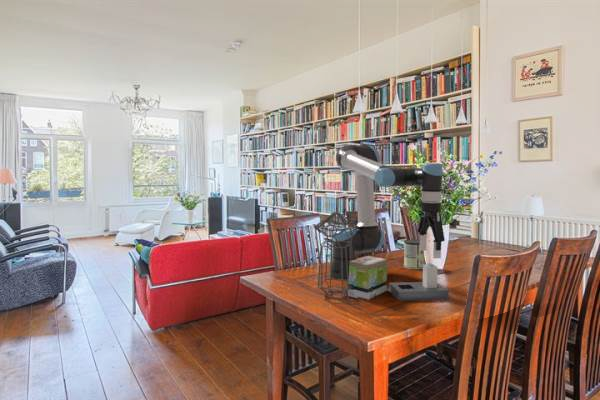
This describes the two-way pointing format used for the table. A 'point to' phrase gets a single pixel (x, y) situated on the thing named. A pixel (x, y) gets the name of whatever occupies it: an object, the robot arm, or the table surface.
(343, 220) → the geometric lantern
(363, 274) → the tea box
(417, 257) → the coffee can
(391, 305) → the table surface
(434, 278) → the plug
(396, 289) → the block
